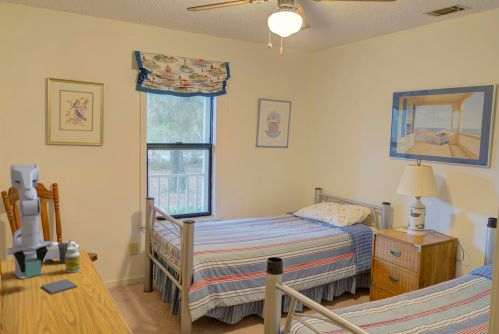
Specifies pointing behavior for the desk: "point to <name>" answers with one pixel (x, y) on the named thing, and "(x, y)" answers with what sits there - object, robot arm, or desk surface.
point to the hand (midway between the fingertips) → (31, 269)
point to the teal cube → (32, 267)
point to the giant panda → (58, 251)
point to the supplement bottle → (72, 260)
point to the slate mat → (59, 286)
